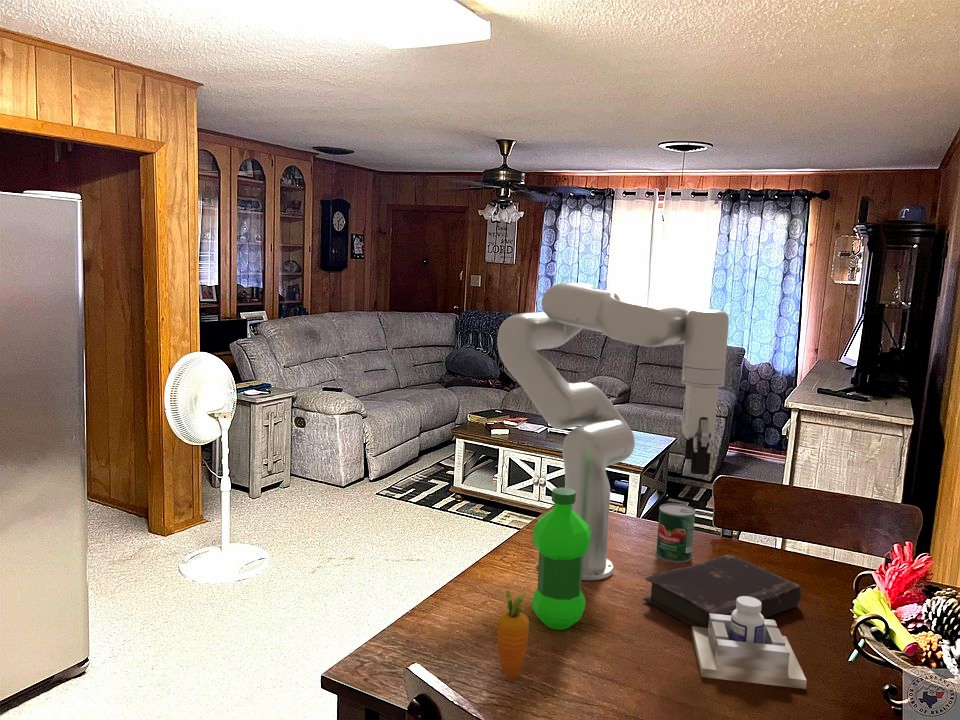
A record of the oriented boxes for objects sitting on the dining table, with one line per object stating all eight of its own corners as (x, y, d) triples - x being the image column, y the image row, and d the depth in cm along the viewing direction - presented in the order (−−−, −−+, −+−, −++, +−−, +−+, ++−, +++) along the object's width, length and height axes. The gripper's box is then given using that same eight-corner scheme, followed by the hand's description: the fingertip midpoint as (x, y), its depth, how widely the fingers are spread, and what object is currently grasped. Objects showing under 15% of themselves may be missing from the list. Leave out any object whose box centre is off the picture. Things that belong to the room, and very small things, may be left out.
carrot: (493, 673, 120) (497, 585, 118) (524, 673, 121) (528, 585, 119) (497, 691, 116) (500, 599, 113) (529, 691, 116) (533, 599, 114)
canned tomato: (656, 560, 167) (659, 513, 166) (656, 547, 175) (659, 501, 173) (692, 564, 165) (696, 516, 164) (691, 551, 173) (694, 505, 171)
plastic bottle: (589, 614, 141) (596, 486, 138) (579, 641, 131) (586, 504, 128) (537, 605, 144) (543, 479, 141) (524, 631, 134) (529, 496, 131)
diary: (801, 609, 146) (803, 585, 146) (717, 643, 132) (720, 616, 132) (722, 572, 162) (724, 550, 161) (640, 599, 147) (642, 575, 147)
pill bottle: (756, 644, 129) (760, 595, 128) (765, 660, 124) (770, 609, 123) (725, 642, 130) (729, 593, 128) (733, 658, 124) (737, 607, 123)
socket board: (701, 676, 121) (703, 648, 121) (691, 634, 135) (693, 607, 134) (805, 689, 119) (808, 659, 118) (785, 644, 132) (787, 617, 132)
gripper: (677, 368, 147) (671, 453, 150) (687, 383, 130) (680, 478, 133) (717, 370, 146) (710, 455, 148) (731, 385, 129) (724, 481, 132)
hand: (696, 466), depth 141 cm, fingers open, 9 cm apart
